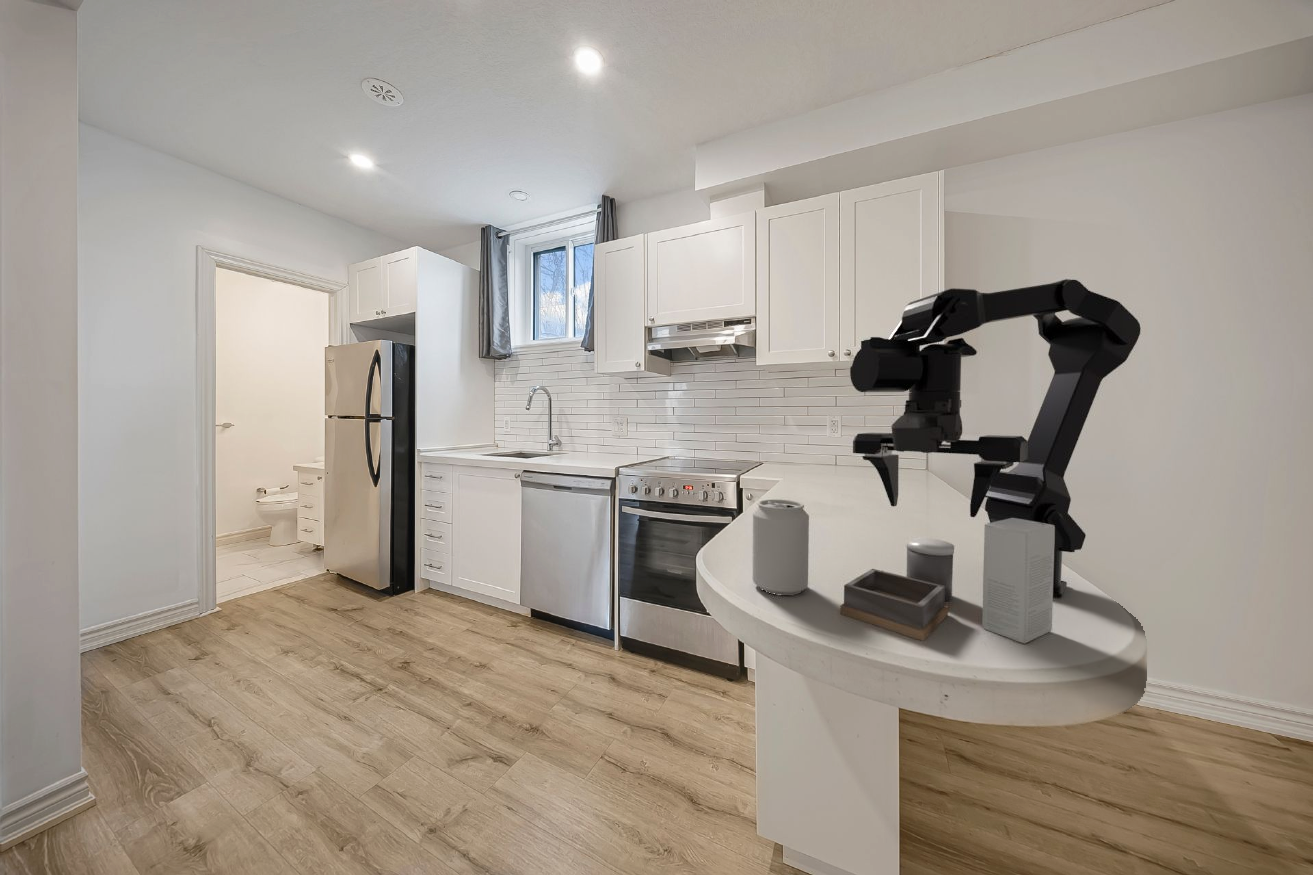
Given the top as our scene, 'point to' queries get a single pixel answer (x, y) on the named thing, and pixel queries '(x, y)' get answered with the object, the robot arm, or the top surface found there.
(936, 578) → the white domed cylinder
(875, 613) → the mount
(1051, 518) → the robot arm
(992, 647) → the top surface
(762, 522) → the can
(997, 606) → the skincare box
